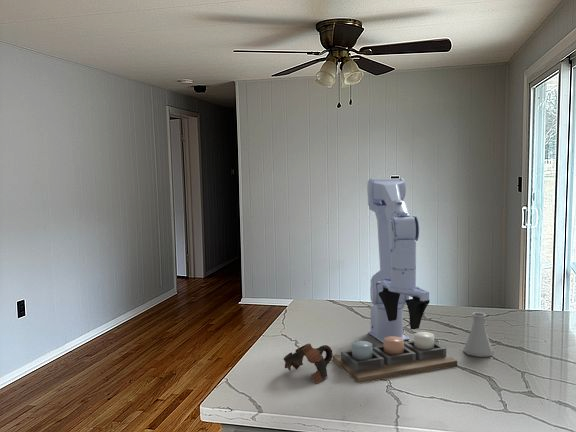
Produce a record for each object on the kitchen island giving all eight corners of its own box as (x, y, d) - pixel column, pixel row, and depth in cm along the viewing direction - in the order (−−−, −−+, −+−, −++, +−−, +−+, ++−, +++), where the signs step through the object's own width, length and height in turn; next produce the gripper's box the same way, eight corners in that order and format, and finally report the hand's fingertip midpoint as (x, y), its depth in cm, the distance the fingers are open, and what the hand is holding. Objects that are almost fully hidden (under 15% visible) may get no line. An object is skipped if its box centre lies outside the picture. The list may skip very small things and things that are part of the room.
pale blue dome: (348, 355, 124) (348, 342, 124) (366, 352, 126) (366, 339, 126) (357, 362, 120) (357, 349, 120) (376, 359, 122) (375, 346, 121)
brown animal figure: (307, 391, 113) (289, 356, 114) (289, 394, 121) (273, 362, 122) (347, 364, 119) (330, 332, 121) (328, 369, 127) (312, 338, 129)
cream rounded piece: (410, 345, 130) (410, 333, 130) (426, 343, 131) (427, 330, 131) (421, 352, 125) (421, 339, 125) (438, 349, 127) (438, 336, 127)
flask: (496, 358, 127) (497, 319, 126) (464, 357, 129) (465, 317, 128) (490, 348, 134) (491, 310, 133) (461, 346, 136) (462, 309, 135)
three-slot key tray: (332, 360, 128) (332, 347, 128) (423, 345, 137) (423, 334, 136) (358, 383, 115) (358, 369, 115) (457, 365, 124) (457, 352, 123)
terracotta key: (380, 350, 127) (380, 337, 127) (397, 347, 129) (397, 335, 128) (390, 357, 123) (390, 344, 122) (407, 354, 124) (407, 341, 124)
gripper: (370, 265, 126) (370, 319, 128) (413, 275, 114) (412, 335, 115) (391, 261, 130) (392, 314, 131) (436, 271, 117) (435, 329, 119)
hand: (403, 324), depth 123 cm, fingers open, 7 cm apart
